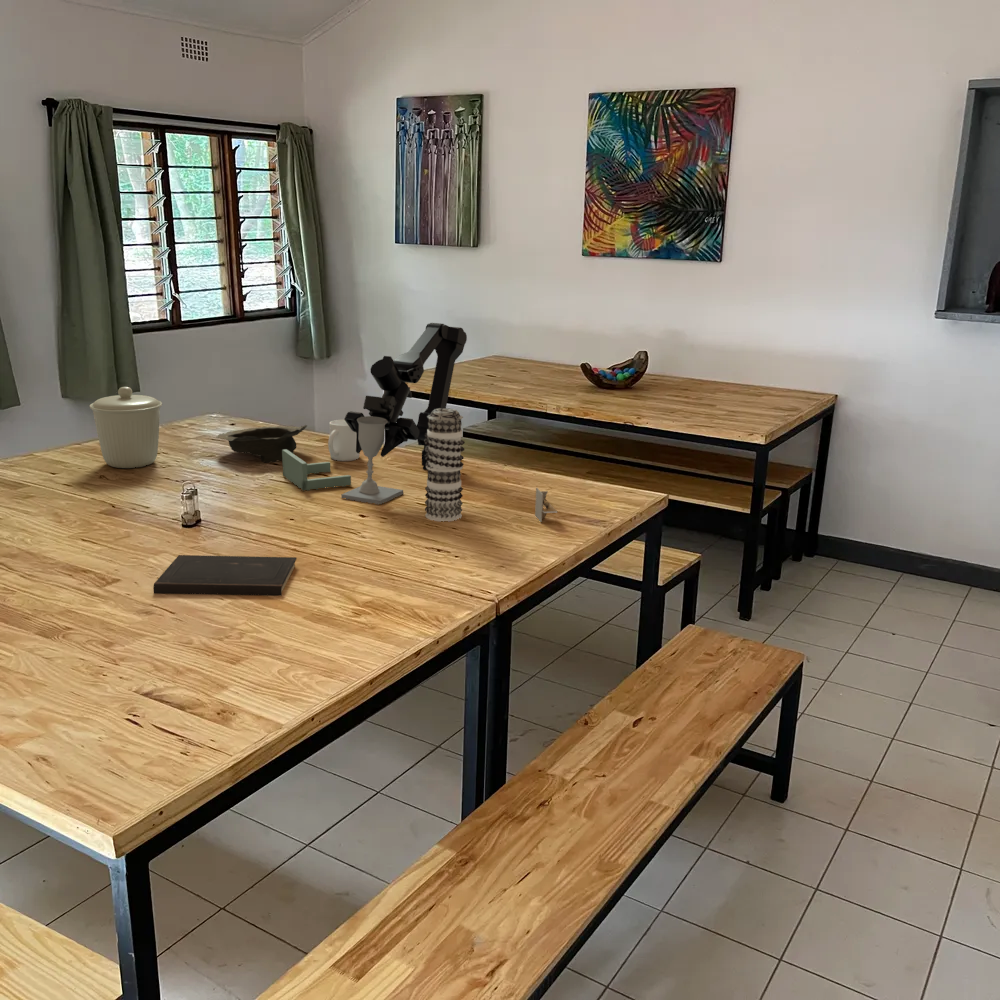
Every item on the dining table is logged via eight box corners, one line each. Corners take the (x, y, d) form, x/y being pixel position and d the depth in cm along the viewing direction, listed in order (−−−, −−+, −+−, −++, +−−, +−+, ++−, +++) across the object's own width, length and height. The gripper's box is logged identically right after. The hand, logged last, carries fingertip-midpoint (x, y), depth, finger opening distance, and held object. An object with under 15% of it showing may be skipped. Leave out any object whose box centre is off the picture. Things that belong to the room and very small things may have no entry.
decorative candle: (415, 515, 226) (415, 409, 219) (444, 508, 233) (445, 404, 226) (442, 524, 220) (444, 415, 213) (471, 516, 227) (473, 410, 220)
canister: (140, 452, 276) (134, 378, 270) (180, 463, 266) (175, 386, 260) (81, 464, 262) (73, 386, 256) (121, 476, 252) (114, 395, 246)
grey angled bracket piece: (548, 517, 230) (550, 487, 228) (556, 526, 223) (558, 495, 221) (534, 518, 229) (536, 487, 227) (542, 527, 222) (543, 495, 220)
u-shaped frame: (328, 470, 263) (328, 445, 261) (351, 485, 250) (350, 458, 248) (283, 475, 257) (282, 449, 255) (303, 490, 243) (302, 463, 241)
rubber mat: (365, 487, 248) (365, 484, 248) (403, 493, 244) (403, 489, 243) (341, 498, 238) (341, 494, 238) (380, 504, 234) (380, 500, 234)
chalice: (380, 485, 245) (383, 416, 239) (386, 494, 240) (390, 424, 233) (351, 486, 243) (354, 416, 237) (357, 495, 237) (359, 424, 231)
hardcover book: (179, 565, 192) (178, 554, 191) (296, 568, 193) (296, 557, 192) (153, 596, 177) (152, 584, 176) (281, 598, 177) (281, 586, 177)
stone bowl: (298, 466, 266) (294, 433, 263) (207, 470, 266) (202, 437, 263) (316, 444, 289) (312, 414, 286) (232, 448, 290) (228, 418, 287)
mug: (341, 465, 269) (341, 429, 266) (316, 462, 272) (315, 425, 269) (365, 456, 279) (365, 421, 276) (341, 453, 282) (340, 418, 279)
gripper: (347, 379, 240) (323, 431, 234) (413, 386, 233) (390, 440, 226) (365, 405, 249) (342, 456, 243) (429, 413, 242) (407, 465, 236)
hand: (369, 454), depth 237 cm, fingers open, 7 cm apart
